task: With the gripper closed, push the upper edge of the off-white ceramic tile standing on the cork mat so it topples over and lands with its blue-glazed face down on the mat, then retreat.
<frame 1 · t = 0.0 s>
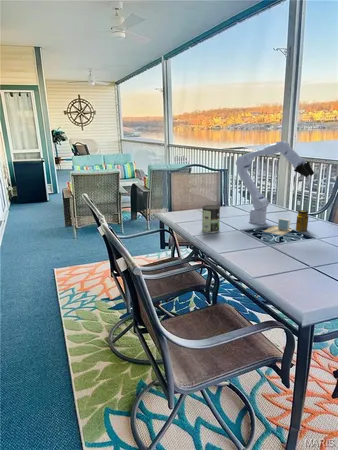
hand: (310, 175, 175), 32 cm above the table, tool tilted 50°, fingers open, 7 cm apart
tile: (283, 229, 187), point 1 cm above the table, touching mat
mat: (277, 231, 185), on the table
coffee can: (210, 230, 189), on the table
condiment: (302, 231, 185), on the table
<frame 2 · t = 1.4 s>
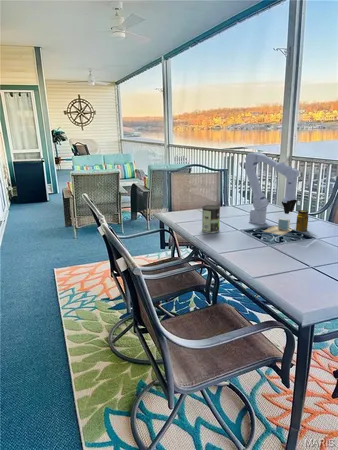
hand: (288, 212, 188), 9 cm above the table, tool pointing down, fingers open, 5 cm apart
nothing on the table moved.
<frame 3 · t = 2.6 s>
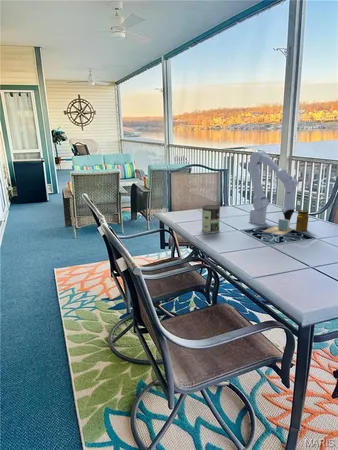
hand: (287, 221, 189), 4 cm above the table, tool pointing down, fingers closed
nothing on the table moved.
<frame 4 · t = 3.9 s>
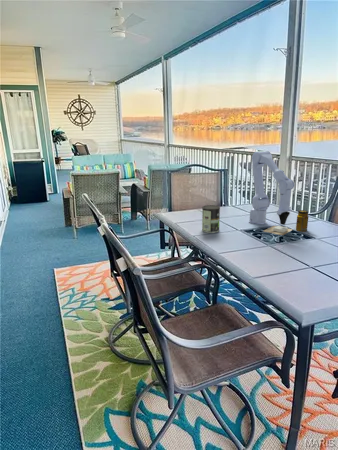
hand: (282, 224, 185), 4 cm above the table, tool pointing down, fingers closed
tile: (282, 228, 186), point 2 cm above the table, tilted 90°, touching mat
everything else where it was.
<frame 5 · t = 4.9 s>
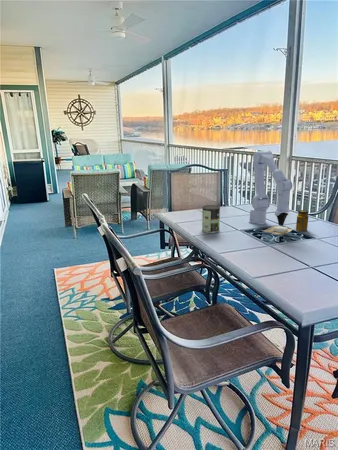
hand: (280, 225, 183), 4 cm above the table, tool pointing down, fingers closed
nothing on the table moved.
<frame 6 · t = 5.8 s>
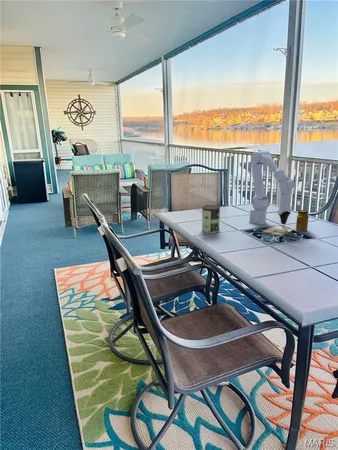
hand: (283, 223, 185), 4 cm above the table, tool pointing down, fingers closed
nothing on the table moved.
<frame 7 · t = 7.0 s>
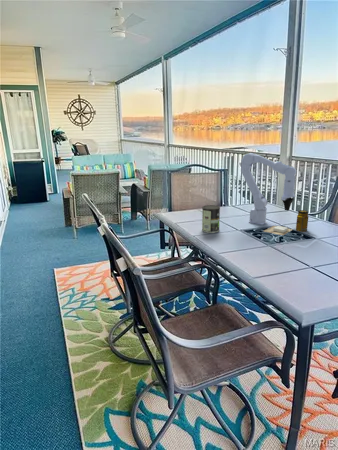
hand: (286, 210, 192), 10 cm above the table, tool pointing down, fingers closed
nothing on the table moved.
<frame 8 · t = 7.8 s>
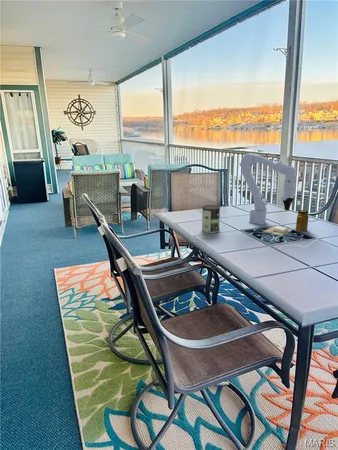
hand: (286, 210, 192), 10 cm above the table, tool pointing down, fingers closed
nothing on the table moved.
at the end: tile tilted 90°; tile inside the target area on the mat (3.9 cm from its centre), point 1.5 cm above the mat's base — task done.
